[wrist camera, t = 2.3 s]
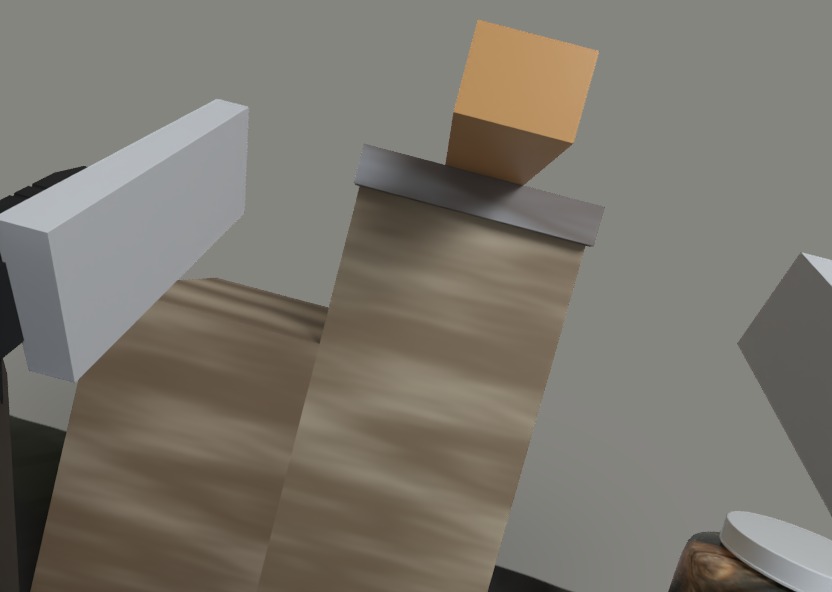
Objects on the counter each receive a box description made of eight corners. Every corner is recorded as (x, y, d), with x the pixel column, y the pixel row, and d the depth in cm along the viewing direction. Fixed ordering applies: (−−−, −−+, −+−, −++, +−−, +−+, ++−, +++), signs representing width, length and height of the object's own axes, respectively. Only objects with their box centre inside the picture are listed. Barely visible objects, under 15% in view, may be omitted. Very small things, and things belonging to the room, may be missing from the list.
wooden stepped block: (162, 503, 47) (246, 151, 45) (441, 578, 46) (538, 228, 44) (10, 638, 30) (136, 83, 28) (448, 757, 30) (604, 207, 28)
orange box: (439, 201, 44) (449, 164, 44) (488, 214, 44) (498, 177, 44) (453, 112, 18) (477, 19, 18) (573, 143, 18) (599, 51, 18)
